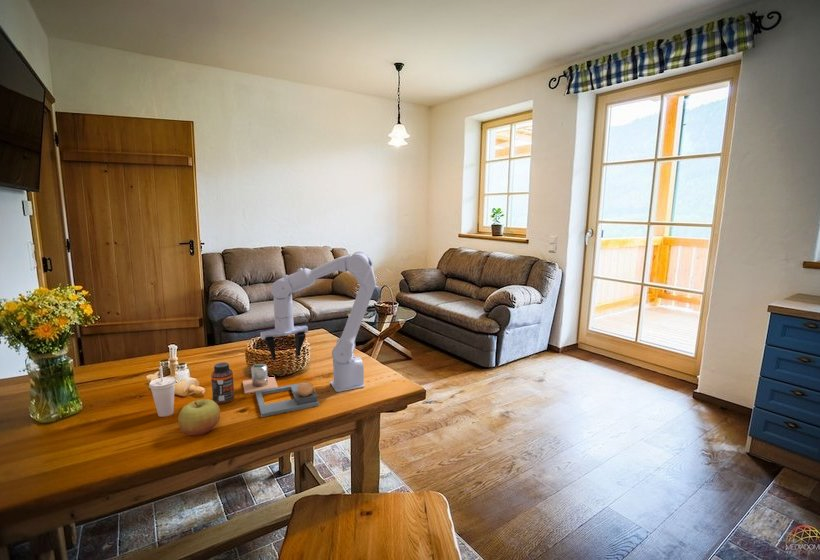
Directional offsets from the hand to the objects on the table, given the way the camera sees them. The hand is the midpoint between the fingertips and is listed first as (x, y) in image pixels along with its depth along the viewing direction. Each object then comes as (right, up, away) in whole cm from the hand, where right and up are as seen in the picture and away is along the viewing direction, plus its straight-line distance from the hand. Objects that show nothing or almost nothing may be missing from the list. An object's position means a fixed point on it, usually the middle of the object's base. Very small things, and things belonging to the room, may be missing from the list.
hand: (285, 357), depth 131 cm
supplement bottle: (-16, -12, -8) cm, 22 cm away
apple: (-15, -15, -25) cm, 32 cm away
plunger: (+9, -10, -10) cm, 17 cm away
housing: (+3, -11, -8) cm, 14 cm away
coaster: (-9, -10, +2) cm, 13 cm away
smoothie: (-29, -13, -17) cm, 36 cm away
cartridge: (-9, -9, +1) cm, 13 cm away
